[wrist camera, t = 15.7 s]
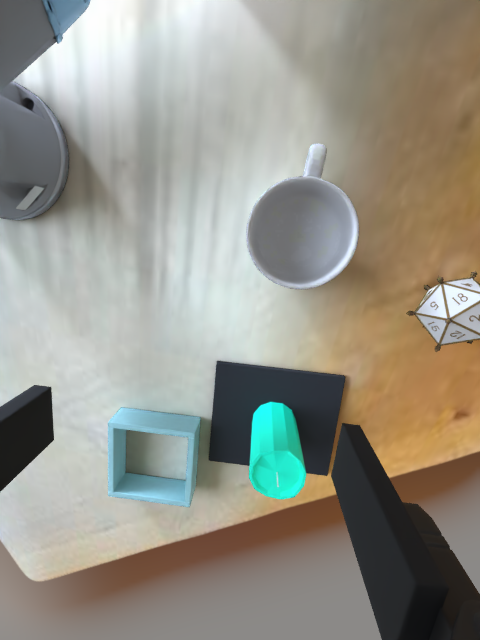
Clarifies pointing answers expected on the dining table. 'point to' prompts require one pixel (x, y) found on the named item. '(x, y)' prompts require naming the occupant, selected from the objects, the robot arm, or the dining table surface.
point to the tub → (144, 484)
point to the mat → (281, 387)
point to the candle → (276, 452)
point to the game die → (451, 311)
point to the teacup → (303, 228)
